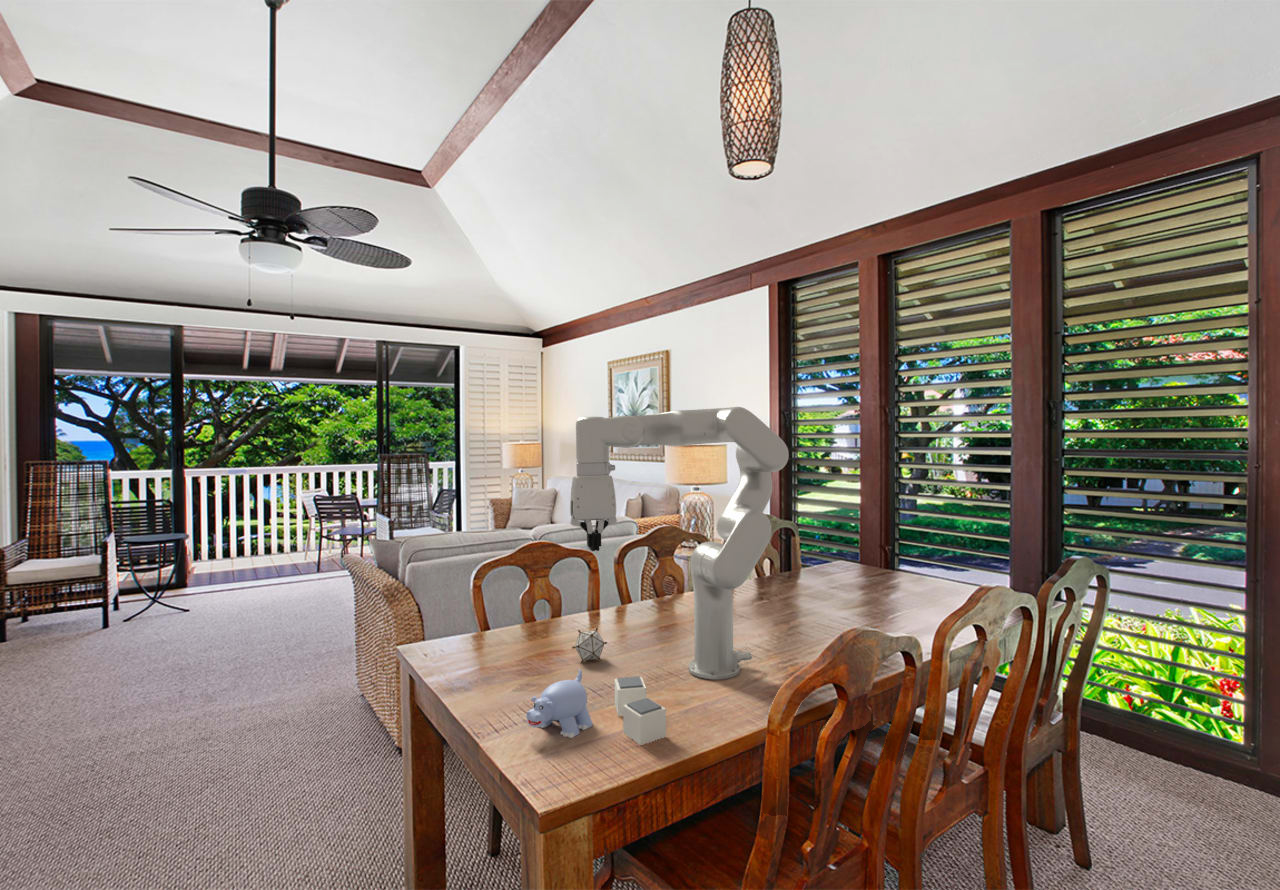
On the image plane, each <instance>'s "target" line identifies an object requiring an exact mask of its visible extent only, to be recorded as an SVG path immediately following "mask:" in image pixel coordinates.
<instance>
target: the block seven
mask: <svg viewBox="0 0 1280 890" xmlns="http://www.w3.org/2000/svg"><path fill="white" fill-rule="evenodd" d="M622 719H623V722H622V726H623V727H622V728H623V729H622V730H623V731H622V732H623V733H624V735H625V734H626V735H627V736H626V735H625V736H626V737H628V738H629V737H630V738H631V740H632V739H633V740H634V741H635V742H634V741H633V740H632V741H633V742H634V743H636V742H637V743H638V744H639V745H638V744H637V743H636V744H637V745H638V746H640V745H642V746H644V745H643V744H645V743H647V744H650V743H652V741H653V742H656V741H658V740H657V739H659V740H661V739H660V738H662V739H664V737H665V738H667V709H666V708H665V707H664V706H662V705H660V704H659V703H658V702H656V701H654V700H652V699H651V698H649V697H646V698H645V699H642V700H638V701H635V702H632V703H628V704H626V705H623V716H622ZM630 738H629V739H630ZM655 740H656V741H655ZM649 742H650V743H649ZM645 745H646V744H645Z"/></svg>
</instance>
